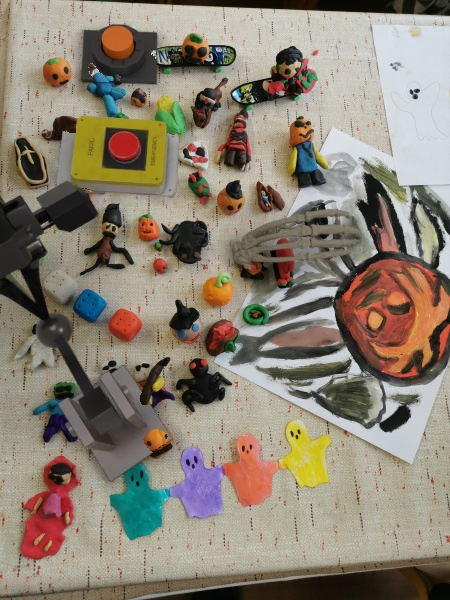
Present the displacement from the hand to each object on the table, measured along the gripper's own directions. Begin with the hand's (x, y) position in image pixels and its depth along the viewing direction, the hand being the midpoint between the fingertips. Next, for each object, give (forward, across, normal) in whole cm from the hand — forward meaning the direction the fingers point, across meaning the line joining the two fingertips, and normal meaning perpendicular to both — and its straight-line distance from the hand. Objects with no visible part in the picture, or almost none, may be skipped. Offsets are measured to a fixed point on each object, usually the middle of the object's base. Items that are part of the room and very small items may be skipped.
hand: (45, 316), depth 56 cm
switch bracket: (+15, 0, -1) cm, 15 cm away
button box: (-14, +26, +28) cm, 41 cm away
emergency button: (-4, +17, +19) cm, 26 cm away
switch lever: (+5, 0, -5) cm, 7 cm away
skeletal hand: (+11, +30, +3) cm, 32 cm away
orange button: (-15, +26, +27) cm, 40 cm away
